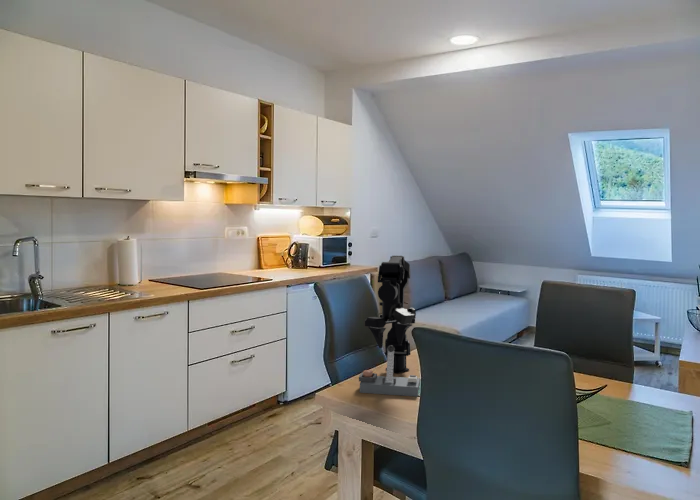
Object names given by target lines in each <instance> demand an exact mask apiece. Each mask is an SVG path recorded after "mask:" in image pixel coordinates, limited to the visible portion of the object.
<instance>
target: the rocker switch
mask: <svg viewBox="0 0 700 500" xmlns="http://www.w3.org/2000/svg"><path fill="white" fill-rule="evenodd" d="M407 378H408V382H417V378H418V376H417V375H413V374H409V375H408V376H407Z"/></svg>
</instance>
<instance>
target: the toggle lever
mask: <svg viewBox="0 0 700 500" xmlns="http://www.w3.org/2000/svg"><path fill="white" fill-rule="evenodd" d="M394 350H395V348H394V346H392V345H390V346H388V355H387V359H386V368H387V370H386V375H385V376H386V380H387V381H393V377H394V372H393V364H394Z"/></svg>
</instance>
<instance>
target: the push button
mask: <svg viewBox="0 0 700 500" xmlns="http://www.w3.org/2000/svg"><path fill="white" fill-rule="evenodd" d="M362 373H363V377H373V373H374V371H373V370H371V369H366V370H363V371H362Z"/></svg>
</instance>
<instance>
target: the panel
mask: <svg viewBox="0 0 700 500" xmlns="http://www.w3.org/2000/svg"><path fill="white" fill-rule="evenodd" d="M386 376H387V375H378V373H375V372H373V377H363V372H360V373H359V376H358V382H359V393H360V394H361V393H362V394H375V395H388V396H389V395H390V396H408V397H418V396H419V393H418V390H419V391H420V388H419V386H420V387H421V383H420V382H421V379H420V378H419V377H417V382H408V377H403V376H402V377H400V376H393V381H387V380H386Z"/></svg>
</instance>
